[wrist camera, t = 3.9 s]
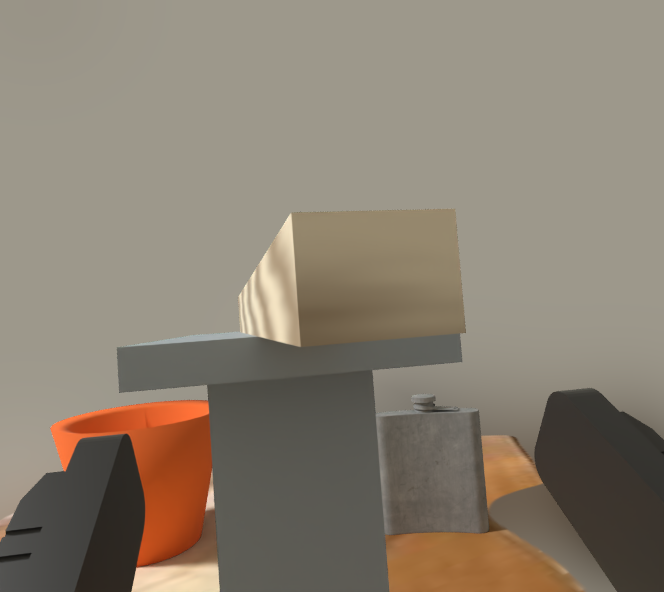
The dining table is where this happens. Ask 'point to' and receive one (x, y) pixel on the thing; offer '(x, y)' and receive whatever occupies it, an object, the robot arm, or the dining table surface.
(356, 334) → the ash bar
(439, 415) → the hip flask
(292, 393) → the stand
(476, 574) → the dining table surface
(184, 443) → the flowerpot
